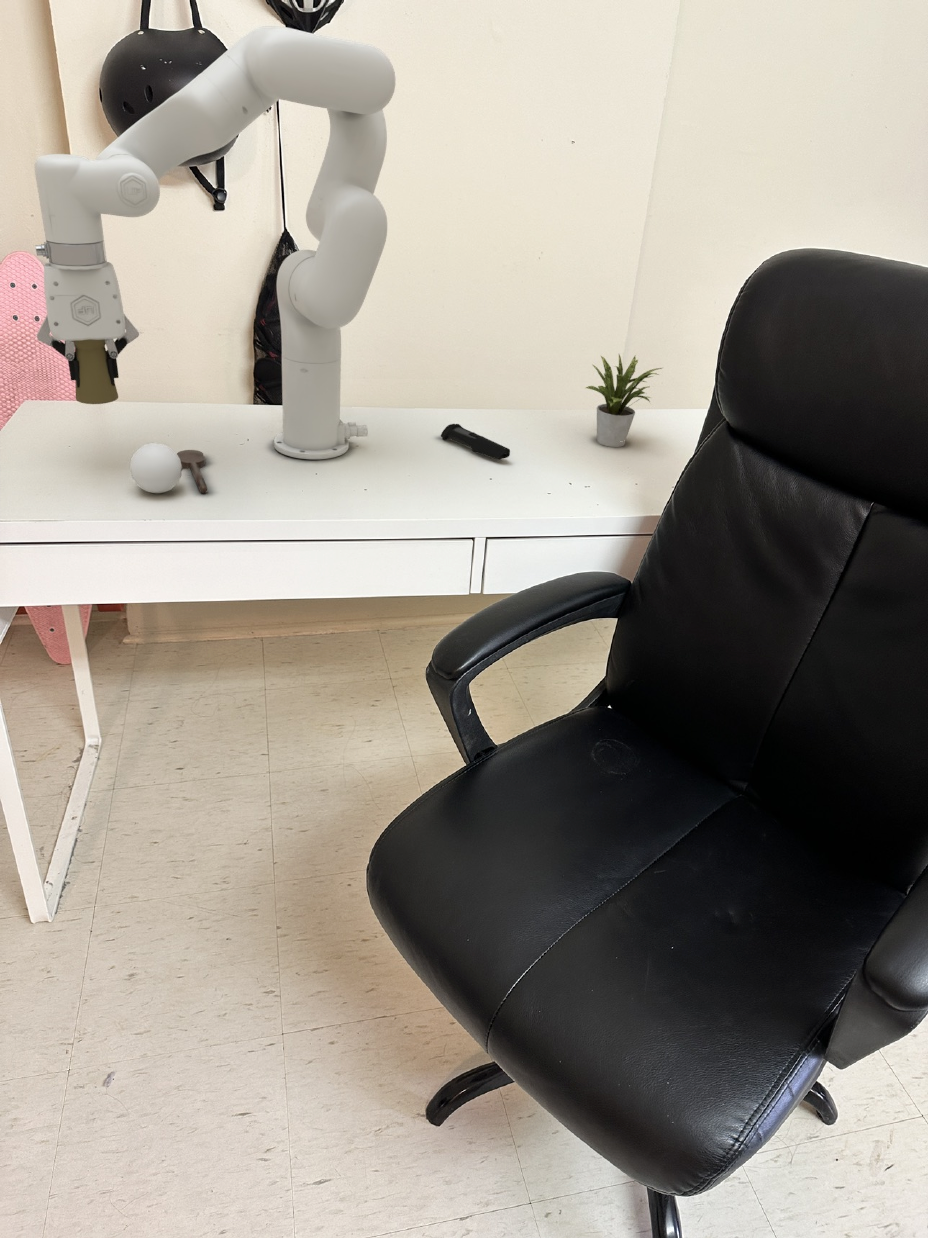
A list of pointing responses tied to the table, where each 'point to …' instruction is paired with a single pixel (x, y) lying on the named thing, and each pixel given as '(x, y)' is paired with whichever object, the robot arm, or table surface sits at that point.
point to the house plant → (617, 403)
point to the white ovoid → (155, 468)
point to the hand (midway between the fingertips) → (95, 382)
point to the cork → (93, 373)
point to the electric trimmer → (475, 442)
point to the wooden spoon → (194, 466)
